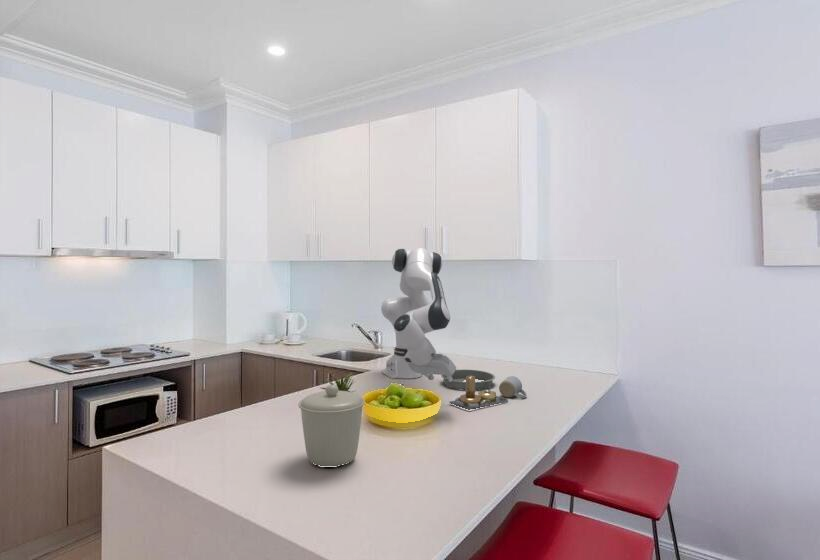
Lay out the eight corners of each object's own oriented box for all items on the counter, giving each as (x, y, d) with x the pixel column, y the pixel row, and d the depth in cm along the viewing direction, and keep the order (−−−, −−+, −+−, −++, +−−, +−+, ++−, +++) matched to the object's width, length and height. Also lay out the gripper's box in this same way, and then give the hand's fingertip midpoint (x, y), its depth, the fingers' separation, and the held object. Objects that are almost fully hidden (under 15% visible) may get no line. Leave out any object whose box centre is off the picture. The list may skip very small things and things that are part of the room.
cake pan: (438, 390, 203) (438, 380, 202) (444, 377, 227) (444, 368, 227) (495, 393, 198) (495, 382, 198) (495, 379, 222) (495, 370, 222)
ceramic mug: (497, 396, 192) (498, 378, 192) (505, 392, 199) (505, 374, 198) (522, 401, 186) (523, 382, 186) (529, 396, 193) (529, 378, 193)
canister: (335, 443, 141) (334, 374, 140) (378, 458, 129) (378, 383, 129) (285, 462, 127) (284, 386, 126) (328, 481, 115) (328, 397, 115)
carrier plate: (449, 404, 181) (449, 392, 181) (487, 396, 193) (487, 385, 193) (469, 412, 171) (469, 399, 171) (508, 402, 184) (508, 391, 183)
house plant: (333, 409, 174) (332, 366, 174) (367, 413, 170) (366, 369, 170) (314, 421, 161) (313, 374, 160) (350, 425, 156) (350, 377, 156)
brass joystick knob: (455, 401, 181) (455, 376, 180) (470, 397, 185) (470, 373, 185) (469, 406, 174) (470, 380, 174) (485, 402, 179) (485, 377, 178)
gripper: (448, 347, 163) (466, 375, 169) (408, 346, 178) (426, 372, 183) (440, 360, 160) (458, 388, 165) (400, 358, 174) (418, 384, 180)
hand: (441, 379), depth 174 cm, fingers open, 8 cm apart
